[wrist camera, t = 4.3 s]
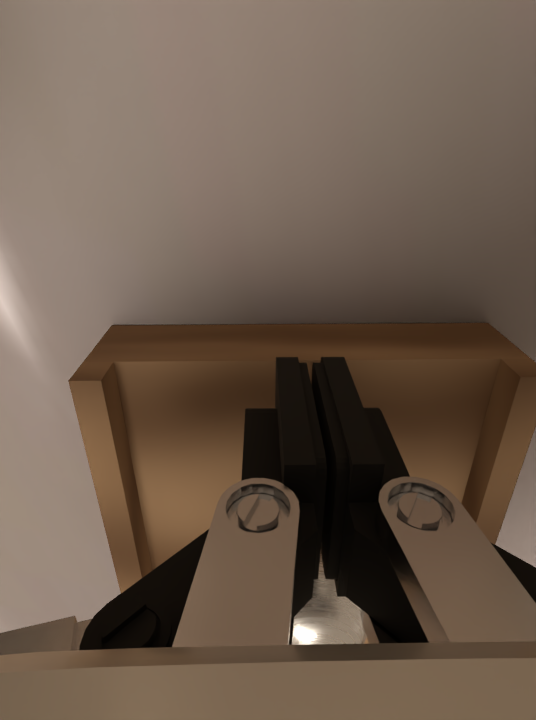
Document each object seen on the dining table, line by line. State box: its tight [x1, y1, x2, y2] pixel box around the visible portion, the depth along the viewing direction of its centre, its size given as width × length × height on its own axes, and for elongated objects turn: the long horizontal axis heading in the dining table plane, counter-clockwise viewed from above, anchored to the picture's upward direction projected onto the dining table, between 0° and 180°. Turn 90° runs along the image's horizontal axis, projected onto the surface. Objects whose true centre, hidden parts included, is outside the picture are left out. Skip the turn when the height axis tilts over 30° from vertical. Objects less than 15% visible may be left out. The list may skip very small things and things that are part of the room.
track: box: [69, 323, 536, 644], centre depth 18 cm, size 24×12×4 cm, turn 0°
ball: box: [292, 551, 367, 645], centre depth 13 cm, size 4×4×4 cm
